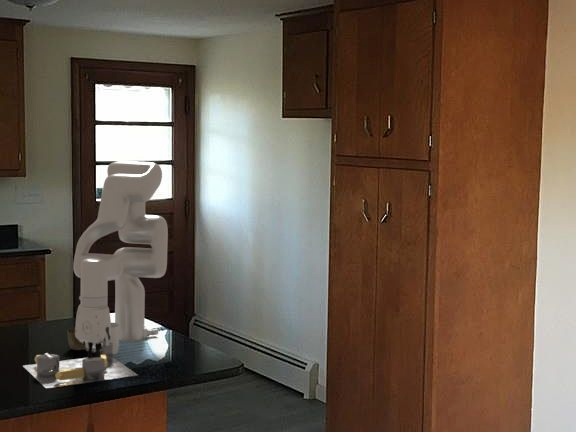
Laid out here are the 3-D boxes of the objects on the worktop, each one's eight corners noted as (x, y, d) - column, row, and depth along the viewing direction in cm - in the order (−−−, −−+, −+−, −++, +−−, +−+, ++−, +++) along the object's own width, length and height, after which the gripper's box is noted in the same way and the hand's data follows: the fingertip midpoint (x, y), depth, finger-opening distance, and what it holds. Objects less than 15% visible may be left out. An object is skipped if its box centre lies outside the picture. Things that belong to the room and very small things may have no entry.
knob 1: (62, 376, 228) (62, 356, 228) (40, 379, 225) (40, 359, 224) (47, 363, 240) (47, 344, 239) (27, 366, 236) (26, 347, 236)
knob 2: (91, 358, 246) (91, 340, 246) (111, 357, 248) (112, 339, 247) (93, 371, 233) (93, 352, 233) (114, 370, 235) (114, 351, 234)
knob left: (100, 373, 232) (100, 354, 231) (107, 379, 227) (107, 359, 226) (52, 380, 224) (52, 360, 224) (58, 386, 219) (58, 366, 219)
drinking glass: (93, 357, 252) (93, 326, 251) (105, 352, 258) (105, 321, 257) (111, 360, 250) (111, 328, 248) (123, 355, 256) (124, 324, 255)
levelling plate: (109, 359, 251) (109, 354, 251) (138, 380, 232) (138, 374, 231) (22, 370, 237) (22, 365, 237) (45, 393, 218) (46, 387, 217)
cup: (69, 358, 251) (69, 332, 250) (64, 352, 257) (64, 327, 257) (94, 355, 254) (94, 330, 254) (88, 349, 261) (88, 325, 260)
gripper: (65, 300, 235) (65, 362, 237) (104, 307, 228) (104, 371, 229) (83, 296, 241) (83, 357, 243) (122, 302, 234) (122, 365, 236)
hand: (93, 364), depth 236 cm, fingers closed
